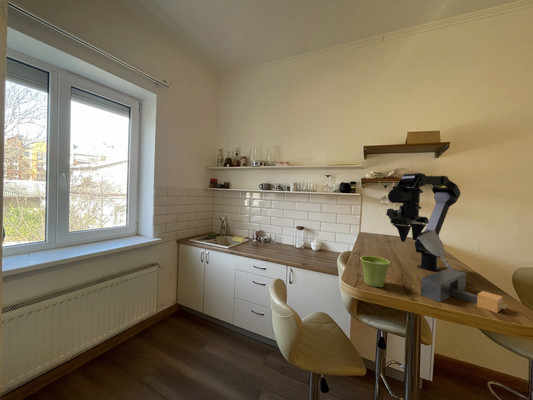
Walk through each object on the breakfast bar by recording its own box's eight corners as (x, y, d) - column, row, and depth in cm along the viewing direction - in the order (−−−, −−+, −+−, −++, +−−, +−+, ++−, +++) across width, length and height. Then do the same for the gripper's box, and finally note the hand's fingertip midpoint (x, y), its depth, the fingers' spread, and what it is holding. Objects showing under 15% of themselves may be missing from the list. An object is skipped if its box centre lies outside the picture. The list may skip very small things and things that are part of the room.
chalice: (470, 274, 77) (437, 231, 87) (467, 275, 73) (433, 230, 82) (448, 280, 82) (419, 238, 91) (444, 282, 77) (414, 238, 87)
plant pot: (354, 282, 74) (355, 258, 74) (366, 276, 80) (367, 254, 80) (381, 292, 67) (383, 265, 67) (393, 285, 73) (394, 260, 73)
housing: (447, 283, 76) (448, 268, 76) (465, 288, 72) (466, 273, 72) (420, 294, 66) (421, 277, 66) (439, 302, 62) (440, 283, 62)
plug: (432, 290, 70) (432, 279, 70) (437, 287, 72) (438, 277, 72) (503, 315, 56) (504, 302, 56) (508, 310, 58) (508, 298, 58)
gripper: (402, 202, 98) (400, 235, 98) (378, 202, 88) (376, 238, 89) (430, 204, 88) (427, 240, 89) (407, 203, 79) (405, 244, 79)
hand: (408, 240), depth 87 cm, fingers open, 9 cm apart
